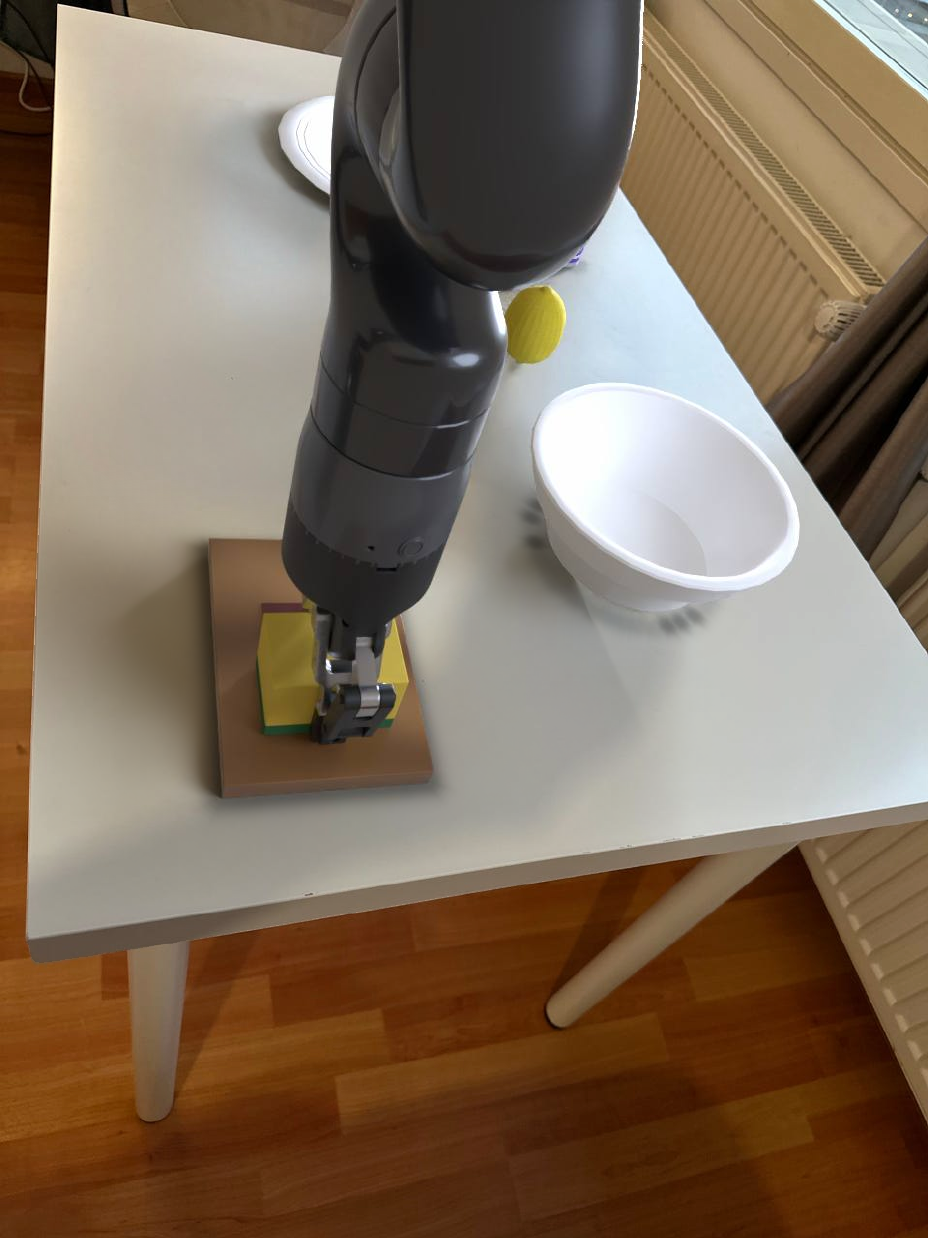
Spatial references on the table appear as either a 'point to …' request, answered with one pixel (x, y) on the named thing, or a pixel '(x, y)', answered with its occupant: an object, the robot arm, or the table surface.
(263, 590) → the board
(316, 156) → the plate
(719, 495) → the bowl
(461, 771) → the table surface
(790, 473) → the table surface
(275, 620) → the sponge
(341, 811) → the table surface
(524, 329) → the lemon
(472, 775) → the table surface
